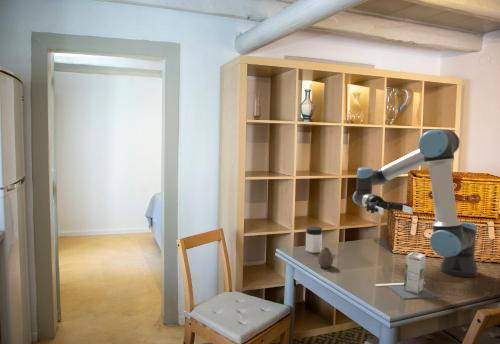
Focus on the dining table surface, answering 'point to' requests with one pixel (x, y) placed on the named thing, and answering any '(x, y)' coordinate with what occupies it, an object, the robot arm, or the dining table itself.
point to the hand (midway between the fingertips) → (397, 211)
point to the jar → (314, 239)
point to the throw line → (392, 284)
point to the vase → (325, 258)
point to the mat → (411, 293)
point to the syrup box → (414, 272)
